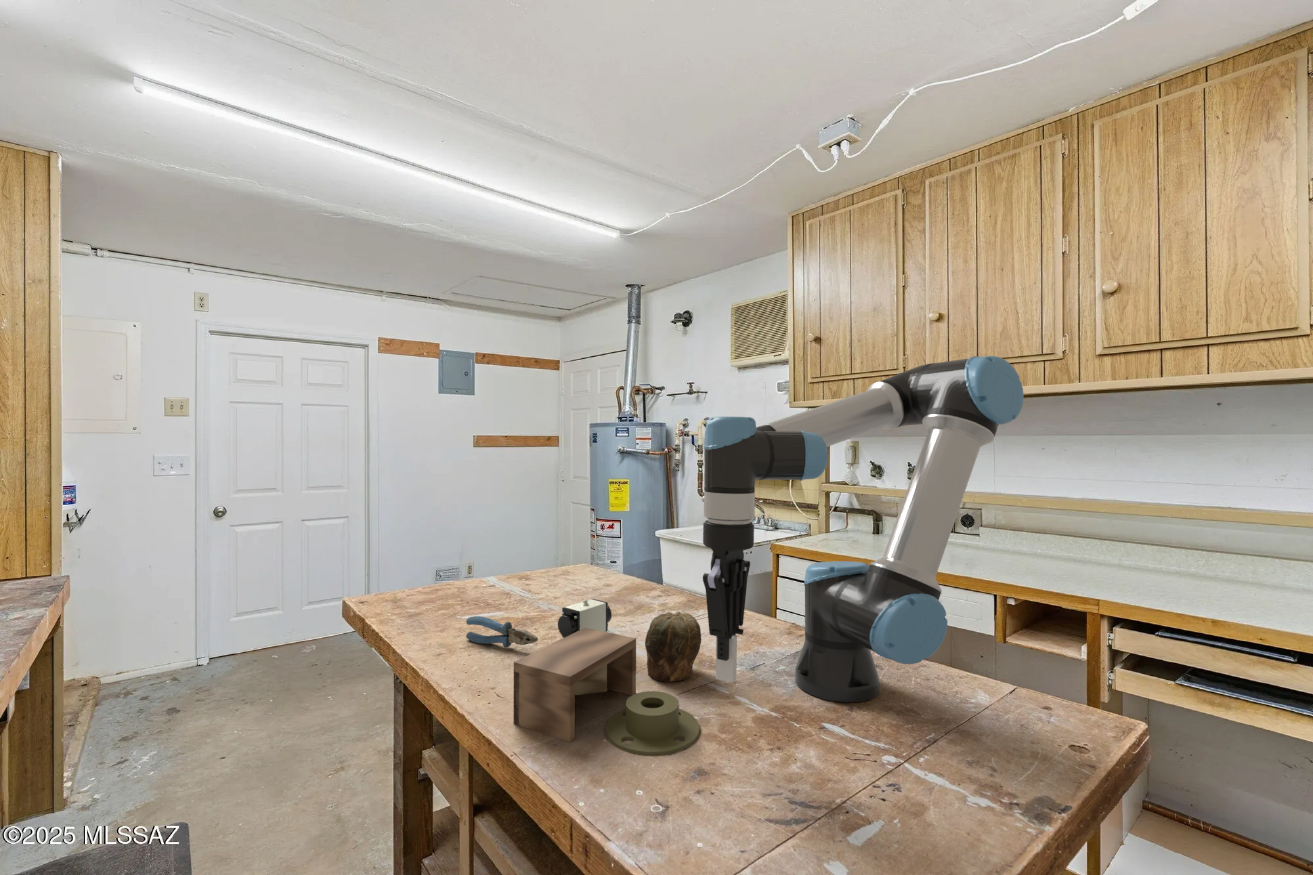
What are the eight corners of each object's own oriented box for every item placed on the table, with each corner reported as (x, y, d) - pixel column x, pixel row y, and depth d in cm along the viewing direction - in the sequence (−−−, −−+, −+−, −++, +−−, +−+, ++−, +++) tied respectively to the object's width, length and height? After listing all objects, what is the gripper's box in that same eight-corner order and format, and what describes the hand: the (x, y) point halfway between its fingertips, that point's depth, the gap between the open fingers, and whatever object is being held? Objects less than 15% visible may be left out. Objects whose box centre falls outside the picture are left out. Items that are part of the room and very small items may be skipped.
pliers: (539, 653, 125) (539, 626, 125) (532, 657, 123) (532, 629, 123) (471, 638, 134) (471, 612, 134) (464, 641, 132) (464, 615, 132)
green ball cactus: (697, 688, 108) (697, 624, 108) (639, 683, 110) (640, 620, 110) (704, 665, 118) (704, 607, 118) (651, 661, 120) (651, 603, 120)
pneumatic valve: (612, 650, 126) (612, 595, 126) (572, 667, 117) (572, 608, 117) (594, 644, 130) (594, 591, 130) (554, 660, 121) (554, 603, 121)
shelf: (635, 693, 106) (636, 638, 106) (569, 741, 89) (570, 676, 89) (584, 679, 111) (584, 627, 111) (513, 723, 94) (513, 662, 94)
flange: (585, 703, 92) (654, 737, 82) (650, 675, 103) (718, 701, 93) (585, 733, 92) (654, 770, 82) (650, 701, 103) (718, 730, 93)
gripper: (722, 513, 94) (719, 659, 94) (686, 523, 82) (683, 689, 82) (767, 517, 90) (764, 669, 90) (736, 528, 79) (733, 701, 79)
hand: (725, 678), depth 86 cm, fingers closed
